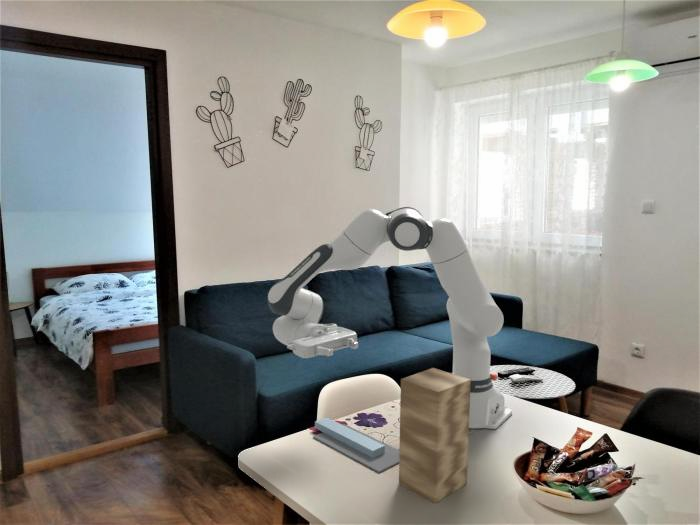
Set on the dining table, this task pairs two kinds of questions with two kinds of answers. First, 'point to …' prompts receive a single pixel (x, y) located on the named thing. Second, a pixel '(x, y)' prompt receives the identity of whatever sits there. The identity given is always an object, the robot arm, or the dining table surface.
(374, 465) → the mat
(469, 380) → the oak stand
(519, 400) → the dining table surface
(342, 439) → the slat
